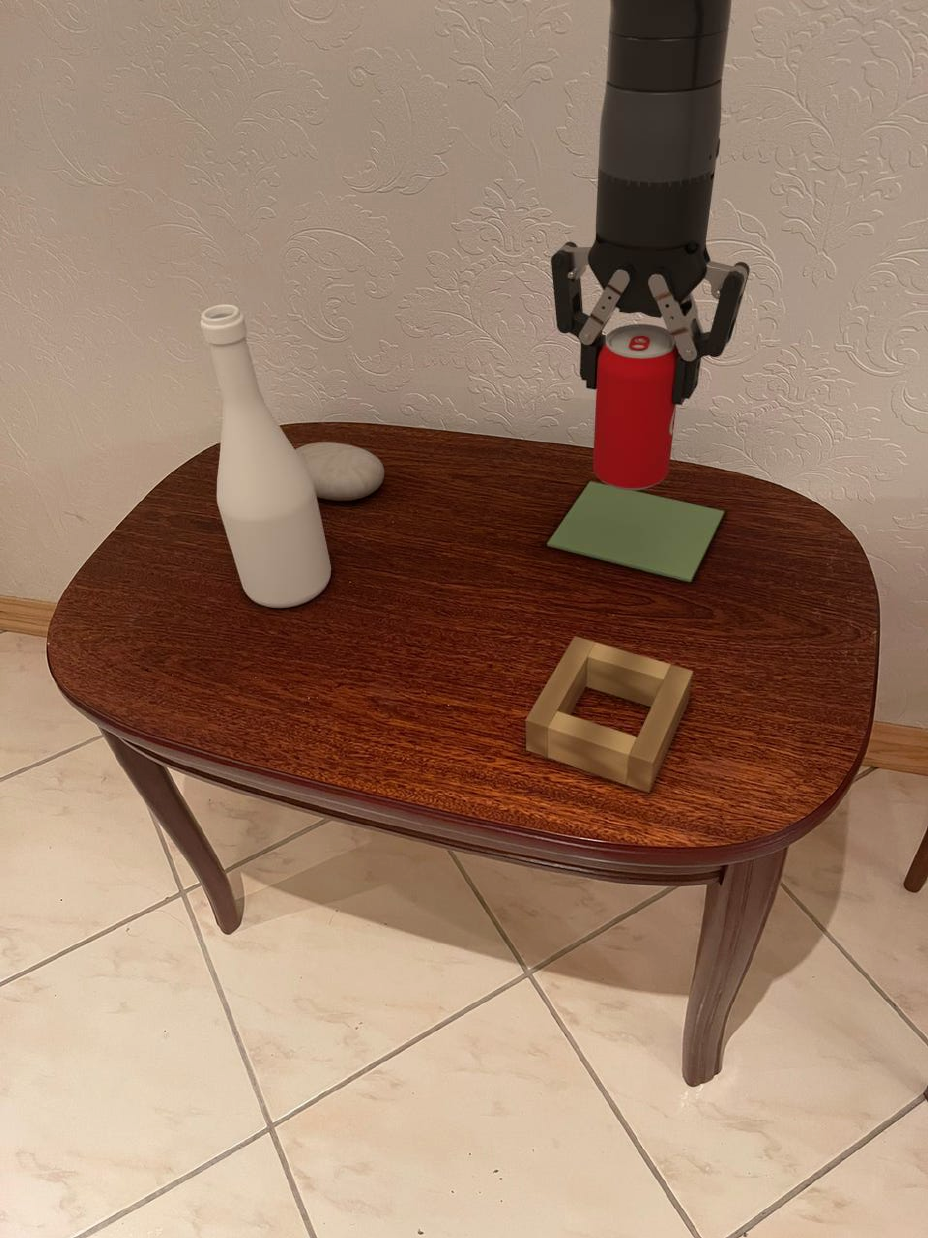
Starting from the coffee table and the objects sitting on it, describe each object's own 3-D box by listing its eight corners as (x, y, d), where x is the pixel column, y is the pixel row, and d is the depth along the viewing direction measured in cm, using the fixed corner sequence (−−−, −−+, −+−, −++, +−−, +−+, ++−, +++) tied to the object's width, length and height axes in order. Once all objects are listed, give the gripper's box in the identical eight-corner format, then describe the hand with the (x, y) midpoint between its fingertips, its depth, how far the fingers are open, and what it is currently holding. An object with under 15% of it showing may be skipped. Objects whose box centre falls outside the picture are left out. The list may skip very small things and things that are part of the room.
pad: (724, 513, 100) (724, 510, 99) (690, 582, 91) (691, 579, 91) (590, 483, 105) (590, 480, 105) (547, 545, 97) (547, 543, 97)
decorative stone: (271, 495, 108) (263, 460, 104) (316, 458, 113) (309, 424, 110) (357, 522, 102) (351, 486, 99) (400, 482, 108) (395, 447, 105)
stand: (688, 701, 79) (693, 670, 77) (649, 793, 72) (653, 763, 70) (573, 666, 83) (574, 635, 81) (525, 750, 76) (525, 719, 74)
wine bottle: (320, 546, 100) (263, 280, 79) (343, 596, 93) (287, 320, 73) (236, 569, 97) (156, 302, 77) (254, 622, 91) (171, 346, 70)
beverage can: (673, 459, 75) (689, 324, 67) (661, 501, 71) (677, 361, 63) (600, 450, 77) (607, 317, 69) (584, 490, 73) (591, 353, 65)
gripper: (532, 166, 58) (532, 398, 69) (756, 186, 53) (717, 433, 64) (573, 135, 63) (567, 356, 74) (782, 150, 57) (741, 385, 69)
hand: (636, 391), depth 69 cm, fingers closed on beverage can, 6 cm apart
